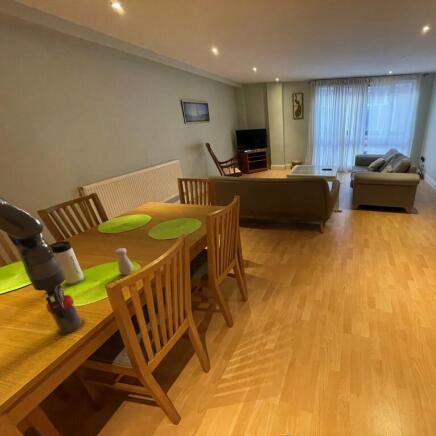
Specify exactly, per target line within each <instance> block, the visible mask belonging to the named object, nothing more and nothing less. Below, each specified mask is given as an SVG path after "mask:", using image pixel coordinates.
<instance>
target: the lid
mask: <svg viewBox="0 0 436 436" xmlns="http://www.w3.org/2000/svg"><path fill="white" fill-rule="evenodd" d="M63 298H64V301H63V305H64V308H65V310H66V309H68V308H69V307H71V306H72V305H73V304H74V299H73V297H72V296H71V295H70V294H63ZM59 300H60V298H59ZM45 306H46V307H45V308H46V309H47V312H48V313H50V314H51V313H52V310H51V308H50V306H49V304H48V302H47V303H46V305H45ZM56 307H59V305H57V306H55V308H56Z"/></svg>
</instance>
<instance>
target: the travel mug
mask: <svg viewBox="0 0 436 436" xmlns="http://www.w3.org/2000/svg"><path fill="white" fill-rule="evenodd" d="M49 245H50V247H51V249H52V251H53V254H54V256H55V258H56V259H57V261H58V262H59V265H60V267H61V269H62V271H63V274H64V276H65V280H64V282H65V283H66V285H69V286H72V285H76V284H79V283H81V282H83V281H84V279H85V276H84V273H83V271H82V269H81V266H80V263H79V261H78V259H77V257H76V254H75V252H74V249H73V247H72V245H71V242H70V241H68V240H63V241H56V242H53V243H49Z"/></svg>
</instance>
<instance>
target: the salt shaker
mask: <svg viewBox="0 0 436 436" xmlns="http://www.w3.org/2000/svg"><path fill="white" fill-rule="evenodd" d="M114 254H115V255H116V257H117V264H118V272H119V273H120V274H121V275H123V276H128V275H130V274H132V273H133V272H134V271H133V270H134V265H133V263H132V262H131V260H130V259H129V257H128V255H127V249H126V248H125V247H119V248H117V249H115V251H114Z"/></svg>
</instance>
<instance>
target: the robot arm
mask: <svg viewBox="0 0 436 436" xmlns="http://www.w3.org/2000/svg"><path fill="white" fill-rule="evenodd" d="M0 230H1V231H2V232H3V233H5V234H6V236H7V238H8V239H9V240H10V241H11V243H12V245H13V246H14V248H15V249H16V252H17V254H18V257H19V259H20V261H21V262H22V264H23V267H24V271H25V273H26V276H27V277H28V279H29V281H30V283H31V285H32V287H33V289H34V290H35V291H39V292H40V291H45V292H44V296H45V300H46V302H47V303H48V304H49V306H50V308H51V310H52V313H56V315H57V317H58V319H59V320H61V319H63V318H66V317H67V313H66V311H65V308H64V305H63V301H64V298H63V295H65V290H64V287H63V285H62V284H63V283H64V282H65V276H64V274H63V271H62V269H61V267H60V265H59V262H58V261H57V259H56V258H55V256H54V253H53V251H52V248H51V247H50V243H49V242H48V241H47V240H46V239H45V238H44V236H43V233H42V232H43V230H44V225H43V222H42V221H41V220H40V219H39V218H38V217H36V216H35V215H32V214H30V213H29V212H27V211H25V210H23V209H21V208H20V207H18V206H16V205H14V204H12V202H11V203H10V201H8V200H7V199H6V198H4V197H3V196H1V195H0ZM59 298H60V300H59ZM57 305H59V307H56V308H55V306H57Z"/></svg>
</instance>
